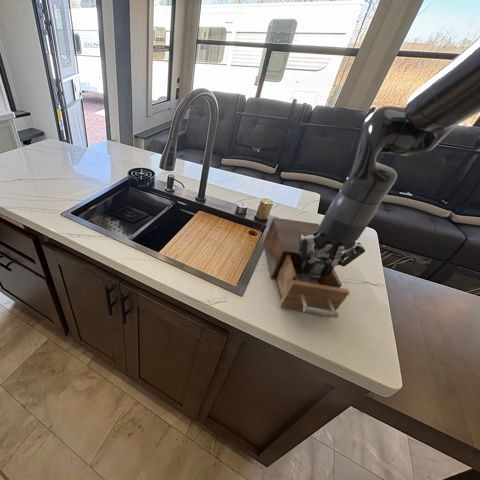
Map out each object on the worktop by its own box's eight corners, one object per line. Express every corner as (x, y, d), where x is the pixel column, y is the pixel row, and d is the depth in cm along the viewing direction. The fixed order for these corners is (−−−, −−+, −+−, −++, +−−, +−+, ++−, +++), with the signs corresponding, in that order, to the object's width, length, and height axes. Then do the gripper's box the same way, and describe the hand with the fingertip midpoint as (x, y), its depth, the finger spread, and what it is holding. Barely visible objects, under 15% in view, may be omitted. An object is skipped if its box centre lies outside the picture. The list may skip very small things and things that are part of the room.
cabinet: (319, 286, 72) (337, 259, 65) (270, 278, 74) (283, 250, 67) (304, 249, 85) (318, 223, 78) (263, 243, 87) (273, 217, 80)
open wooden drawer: (338, 333, 59) (358, 310, 54) (283, 323, 61) (298, 299, 55) (314, 272, 75) (327, 250, 70) (271, 265, 77) (281, 242, 71)
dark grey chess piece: (311, 304, 64) (334, 270, 57) (287, 293, 67) (306, 259, 59) (315, 289, 68) (336, 256, 61) (292, 280, 71) (310, 247, 63)
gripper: (317, 219, 50) (286, 278, 61) (395, 230, 49) (349, 289, 59) (307, 201, 56) (281, 258, 67) (376, 210, 55) (338, 267, 65)
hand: (313, 272), depth 63 cm, fingers closed on dark grey chess piece, 3 cm apart
